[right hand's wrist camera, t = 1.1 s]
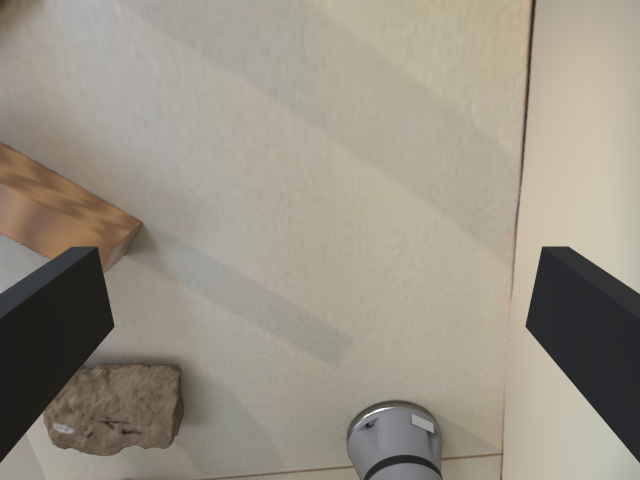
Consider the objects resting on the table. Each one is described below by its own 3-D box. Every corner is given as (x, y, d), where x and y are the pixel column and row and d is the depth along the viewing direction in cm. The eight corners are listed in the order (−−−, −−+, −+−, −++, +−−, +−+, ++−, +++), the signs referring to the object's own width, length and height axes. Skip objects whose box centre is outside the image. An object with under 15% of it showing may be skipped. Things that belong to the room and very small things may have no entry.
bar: (142, 222, 55) (114, 244, 47) (124, 255, 56) (94, 282, 49) (-40, 118, 50) (-104, 125, 42) (-54, 159, 51) (-117, 172, 44)
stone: (42, 441, 64) (22, 468, 58) (40, 350, 62) (19, 369, 56) (183, 435, 68) (178, 459, 62) (186, 350, 66) (181, 367, 60)
